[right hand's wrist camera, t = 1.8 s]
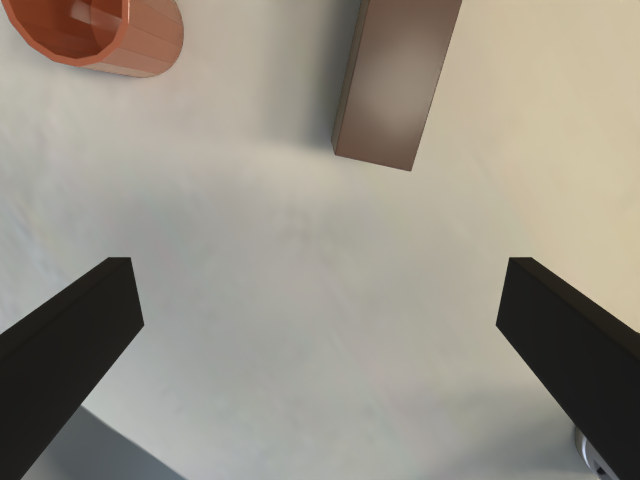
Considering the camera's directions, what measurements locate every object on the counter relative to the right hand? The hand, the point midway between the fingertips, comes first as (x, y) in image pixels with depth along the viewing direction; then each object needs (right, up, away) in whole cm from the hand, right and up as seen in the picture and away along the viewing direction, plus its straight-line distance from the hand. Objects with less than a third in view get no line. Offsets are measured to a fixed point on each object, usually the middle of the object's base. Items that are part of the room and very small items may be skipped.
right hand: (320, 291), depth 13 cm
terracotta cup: (-13, +18, +14) cm, 26 cm away
